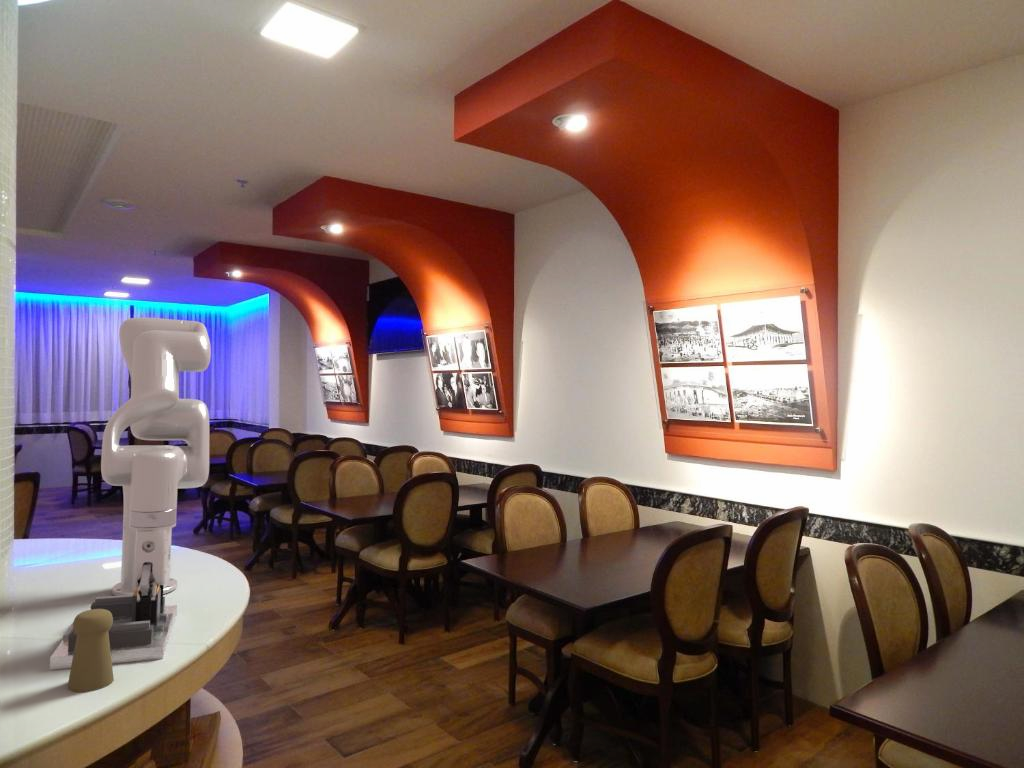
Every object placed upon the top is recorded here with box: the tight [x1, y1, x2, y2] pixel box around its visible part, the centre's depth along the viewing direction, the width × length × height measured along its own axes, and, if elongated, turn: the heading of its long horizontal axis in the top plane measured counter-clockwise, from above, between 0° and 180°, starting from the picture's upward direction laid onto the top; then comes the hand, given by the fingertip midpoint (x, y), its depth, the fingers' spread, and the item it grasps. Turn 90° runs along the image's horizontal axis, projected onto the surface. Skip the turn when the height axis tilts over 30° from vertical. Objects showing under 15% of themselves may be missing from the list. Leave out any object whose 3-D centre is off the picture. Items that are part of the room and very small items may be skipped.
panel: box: [49, 604, 178, 671], centre depth 119 cm, size 22×16×3 cm
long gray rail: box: [68, 595, 166, 652], centre depth 119 cm, size 18×12×3 cm, turn 21°
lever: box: [132, 584, 161, 626], centre depth 121 cm, size 4×4×7 cm
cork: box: [67, 609, 115, 693], centre depth 102 cm, size 6×6×11 cm
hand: (149, 614), depth 121 cm, fingers open, 8 cm apart
